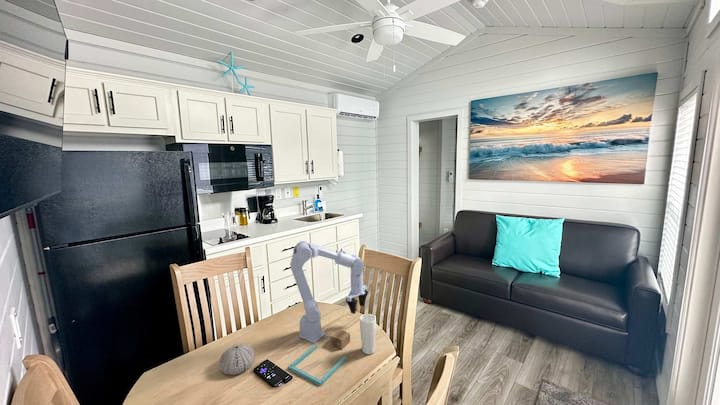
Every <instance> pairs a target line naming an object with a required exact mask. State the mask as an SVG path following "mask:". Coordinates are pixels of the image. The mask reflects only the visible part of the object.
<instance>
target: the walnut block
mask: <svg viewBox="0 0 720 405" xmlns="http://www.w3.org/2000/svg"><path fill="white" fill-rule="evenodd" d="M350 343H351V333H350V332H348V331H345V330H343V329H340V328H338V329H337V330H335V332H334V333H332V334H331V335H330V346H332V347H335V348H337V349H340V350H344V349H345V348H346V347H347V346H348V345H349V344H350Z"/></svg>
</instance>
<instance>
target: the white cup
mask: <svg viewBox="0 0 720 405" xmlns="http://www.w3.org/2000/svg"><path fill="white" fill-rule="evenodd" d="M359 331H360V340H361V351H362V353H363V354H366V355H372V354H374V352H375V351H376V335H377V333H376V332H377V317H376V315H374V314H372V313H364V314H362V315H361V316H359Z"/></svg>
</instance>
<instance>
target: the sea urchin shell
mask: <svg viewBox="0 0 720 405" xmlns="http://www.w3.org/2000/svg"><path fill="white" fill-rule="evenodd" d="M255 359H256V351H255V350H254V348H253V347H251V345H249V344H243V343H236V344H233V345H232V346H230V347H228V348H227V349H226V350H225V351H224V352H223V353H222V355H221V356H220V357H219V364H218V365H219V369H220V371H221V372H222V373H223V374H225V375H229V376H230V375H231V376H235V375H238V374H242V373H243V372H246V371H248V369H249V368H251V366H252V365H253V364H254V362H255Z"/></svg>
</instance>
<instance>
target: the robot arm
mask: <svg viewBox="0 0 720 405" xmlns="http://www.w3.org/2000/svg"><path fill="white" fill-rule="evenodd" d="M292 251H293V252H292V255H291V259H290V262H289V266H290V270H291V273H292V275H293V278H294V280H295V284H296V286H297V289H298V292H299V294H300V297H301V300H302V302H303V307H304V311H305V314H302V316H301V317H300V319H299V335H298V337H299V338H301V339H303V340H305V341H308V342H311V343H314V344H315V343H316V342H318V341H319V340H320V339H321V338H323V336H325V335H326V332H323V331H322V321H321V311H320V308H319V304H318V302H317V301H316V300H315V298H314V296H313V294H312V291H311V289H310V286H309V283H308V280H307V277H306V275H305V272H304V270H303V267H304V265H305V263H307V262H308V261H309V260H310V259H311V258H312V259H314V258H316V257H318V256H320V257H323V258H327V259H330V260H333V261H334V262H335V264H338V265H340V266H343V267H347V268H350V291H349V293H348V294H347V296H346V298H345V303H347V306H348V308H349V311H350V314H356V313H357V304H358V303H359V307H360V306H361V307H364V306H365V303H366V299H367V297H368V295H369V291H368V285H366V284H364V275H363V274H364V272H363V270H364V268H365V264H364V261H363V259H362V258H360V257H359V256H358V255H357V254H349V253H347V252H346V250H341V251H337V252H335V251H333V250H332V249H331V250H330V249H328V248H325V247H323V246H320V245H319V244H315V243H313V242H307V241H306V240H300V241H299V242H297V244H296V245H295V247H294V248H293V250H292ZM355 298H358V300H356V299H355Z"/></svg>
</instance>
